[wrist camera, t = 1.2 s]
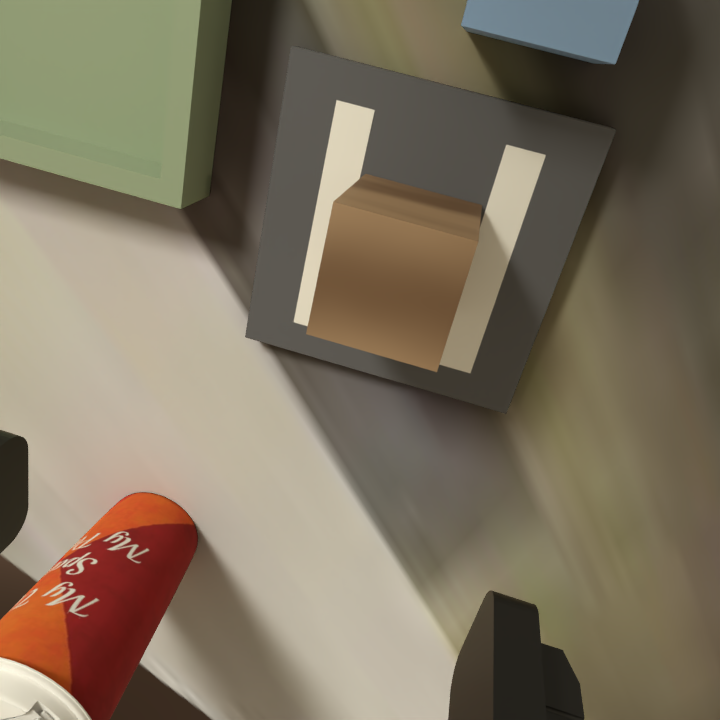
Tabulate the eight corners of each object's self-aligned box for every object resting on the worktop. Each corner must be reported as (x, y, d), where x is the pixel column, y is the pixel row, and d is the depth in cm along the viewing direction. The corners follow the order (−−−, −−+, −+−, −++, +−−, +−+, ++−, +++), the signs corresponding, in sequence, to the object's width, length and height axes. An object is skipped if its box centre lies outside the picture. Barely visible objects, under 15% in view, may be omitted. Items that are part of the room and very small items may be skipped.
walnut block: (365, 173, 27) (333, 201, 21) (481, 204, 26) (478, 241, 21) (340, 283, 29) (306, 333, 24) (447, 314, 29) (436, 372, 23)
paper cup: (160, 457, 37) (-13, 662, 24) (240, 554, 39) (118, 790, 26) (71, 505, 40) (-124, 710, 27) (149, 593, 42) (1, 822, 29)
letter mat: (298, 46, 26) (290, 46, 25) (612, 127, 25) (616, 130, 24) (252, 329, 32) (245, 337, 31) (505, 403, 31) (506, 414, 30)
